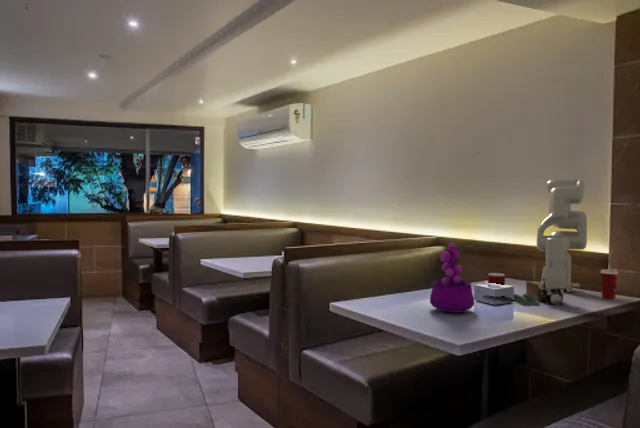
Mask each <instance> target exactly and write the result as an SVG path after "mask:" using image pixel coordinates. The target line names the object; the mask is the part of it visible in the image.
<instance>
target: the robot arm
mask: <svg viewBox="0 0 640 428" xmlns="http://www.w3.org/2000/svg"><path fill="white" fill-rule="evenodd" d="M546 190H547V193H548V195H549V200H548V204H549V205H548V215H547V217H545V218H544V219H543V220H542V221H541V223H540V224H539V225H538V228H537V234H536V248H537V249H538V250H539V251H541V252H545V266H543V268H542V273H541V280H540V281H541V284H540V285H539V286H538V288H539V289H540V290H541V291H542V292H543V293H544V294H545V301H544V302H545V303H546V304H548V305H550V304H551V303H550V295H549V294H550V290H551V289H558V293H559V294H558V295H560V296H561V297H562V299H563V300H564V295H565V294H566V293H572V292H571V291H573V292H574V291H575V289H574V288H580V285H581V284H580V283H579V282H576V283H574V282H572V281H571V280H572V279H571V277H572V276H571V275H572V257H571V255H570V253H568V250H575V251H576V250H578V251H580V250H581V251H583V250H584V249H586V248H587V243H588V220H587V214H586V213H585V211H581V210H571V209H572V207H571V205H574V204H575V205H578V204H581V203H582V202H583V200H584V194H585V182H584V181H583V179H581V178H556V179H554V178H553V179H550V180H547V182H546ZM551 226H553V227H555V228H557V229H561V230H555V231H552V232H551V233H550V235H545V232H546V230H547V229H548V228H549V227H551ZM562 229H563V230H562ZM564 229H565V230H564ZM570 230H572V231H570ZM573 230H576V231H573ZM543 287H545V289H544V288H543ZM562 304H563V302H562V303H561V304H560V305H562Z"/></svg>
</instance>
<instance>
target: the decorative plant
mask: <svg viewBox="0 0 640 428" xmlns="http://www.w3.org/2000/svg"><path fill="white" fill-rule="evenodd" d="M457 248H458V247H457V244H456V243H455V242H449V243H448V245H447V249H448V251H442V252H441V253H440V254H439V260H440V261H441V262H444V263H443V264H442V265H441V269H442V271H443V272H444V274H445V277H443V278H441V279H437V280H434V281H433V282H432V289H431V292H430V297H429V304H430V305H431V306H432V307H434V308H435V309H438V310H439V311H442V312H447V313H462V312H465V311H469V310H471V309H472V308H473V306H475V297H474V294H473V289H472V283H471V282H469V281H466V280H462V276H461V275H460V274H461V273H462V272H463V270H464V269H463V266H462V265H460V264H455V263H456V262H455V259H458V258H460V252H459V251H457ZM449 251H450V252H449Z"/></svg>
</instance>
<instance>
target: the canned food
mask: <svg viewBox="0 0 640 428" xmlns="http://www.w3.org/2000/svg"><path fill="white" fill-rule="evenodd" d="M488 283H496V284H501V285H505V286H506V284H505V283H506V275H505V274H504V273H498V272H489V273H488V275H487V284H488Z"/></svg>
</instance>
